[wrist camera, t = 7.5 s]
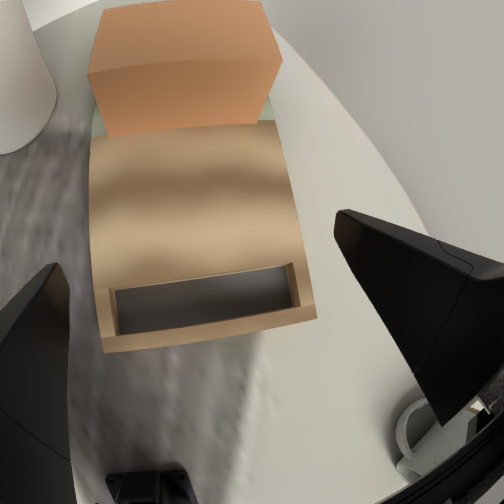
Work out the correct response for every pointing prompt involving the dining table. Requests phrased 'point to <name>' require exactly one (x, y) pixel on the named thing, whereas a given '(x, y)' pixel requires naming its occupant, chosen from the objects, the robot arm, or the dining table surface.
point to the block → (182, 65)
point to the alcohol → (21, 81)
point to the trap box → (194, 235)
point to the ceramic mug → (430, 442)
